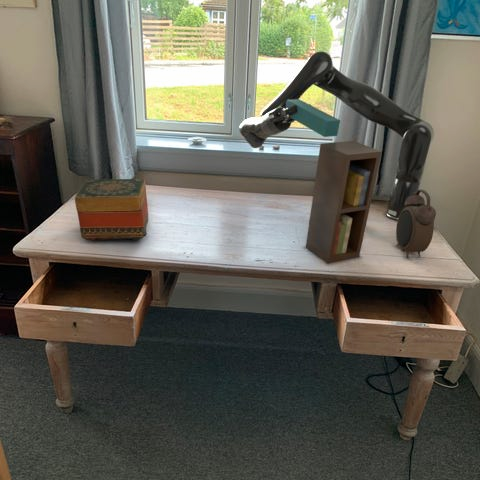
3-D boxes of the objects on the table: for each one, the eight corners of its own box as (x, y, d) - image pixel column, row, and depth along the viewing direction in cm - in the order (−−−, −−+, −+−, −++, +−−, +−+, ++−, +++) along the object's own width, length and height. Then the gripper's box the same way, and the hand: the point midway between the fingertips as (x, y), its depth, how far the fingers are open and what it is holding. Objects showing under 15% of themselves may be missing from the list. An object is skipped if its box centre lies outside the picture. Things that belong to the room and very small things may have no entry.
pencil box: (284, 114, 153) (286, 99, 150) (296, 113, 154) (299, 99, 152) (324, 137, 138) (327, 121, 135) (337, 135, 140) (340, 120, 137)
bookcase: (305, 247, 152) (320, 143, 135) (335, 241, 157) (353, 140, 140) (328, 263, 144) (347, 154, 126) (359, 257, 149) (381, 151, 131)
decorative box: (142, 252, 145) (145, 198, 137) (69, 241, 144) (67, 187, 135) (154, 228, 163) (157, 180, 154) (88, 219, 161) (88, 169, 153)
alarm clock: (388, 242, 159) (403, 183, 148) (409, 243, 160) (425, 183, 149) (404, 262, 147) (421, 199, 136) (426, 263, 148) (445, 200, 137)
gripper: (255, 111, 158) (282, 95, 143) (291, 109, 164) (321, 94, 149) (258, 135, 160) (285, 122, 145) (294, 132, 166) (323, 119, 151)
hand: (303, 108), depth 147 cm, fingers closed on pencil box, 4 cm apart
